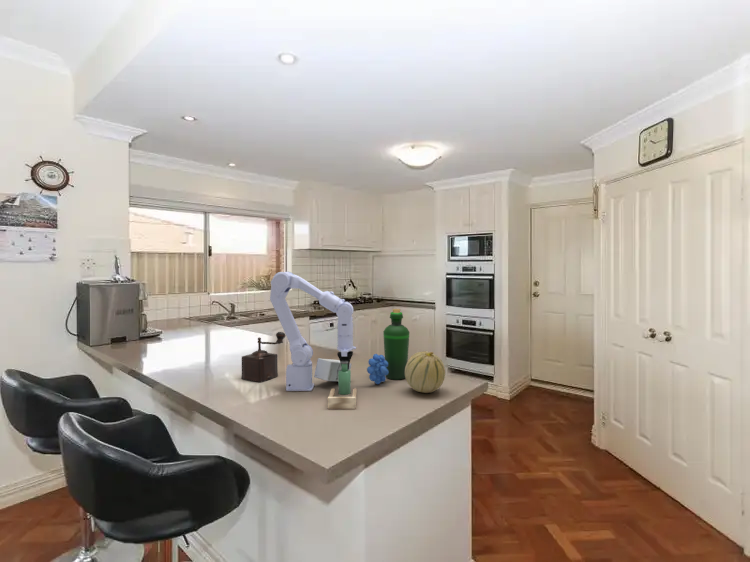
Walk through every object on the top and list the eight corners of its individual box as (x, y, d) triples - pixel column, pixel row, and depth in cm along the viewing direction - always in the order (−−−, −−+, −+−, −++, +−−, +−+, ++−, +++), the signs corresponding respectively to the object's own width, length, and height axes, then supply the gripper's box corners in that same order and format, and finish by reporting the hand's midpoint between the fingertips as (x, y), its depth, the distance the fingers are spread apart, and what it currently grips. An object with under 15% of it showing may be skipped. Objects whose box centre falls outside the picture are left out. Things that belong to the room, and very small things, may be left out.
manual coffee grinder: (261, 383, 158) (261, 337, 157) (240, 379, 163) (240, 334, 162) (287, 373, 171) (287, 331, 171) (268, 370, 177) (267, 329, 176)
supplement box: (348, 382, 160) (327, 381, 150) (334, 377, 164) (313, 377, 154) (352, 363, 160) (331, 362, 151) (338, 359, 165) (317, 357, 155)
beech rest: (327, 408, 130) (327, 398, 129) (331, 395, 143) (331, 385, 143) (355, 408, 130) (355, 397, 130) (356, 395, 143) (356, 385, 143)
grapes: (376, 389, 149) (376, 357, 149) (363, 386, 154) (363, 354, 154) (396, 383, 158) (396, 352, 158) (383, 379, 163) (383, 350, 162)
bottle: (409, 374, 171) (409, 308, 170) (409, 381, 160) (409, 310, 159) (384, 373, 172) (384, 307, 171) (382, 380, 161) (382, 310, 160)
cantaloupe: (410, 384, 157) (411, 345, 156) (448, 388, 152) (449, 348, 151) (399, 395, 143) (399, 353, 143) (440, 400, 138) (440, 356, 137)
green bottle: (337, 394, 144) (337, 363, 143) (338, 391, 148) (338, 360, 148) (350, 394, 144) (350, 362, 143) (350, 391, 148) (350, 360, 148)
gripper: (355, 338, 143) (355, 376, 143) (356, 331, 157) (356, 366, 158) (335, 338, 143) (335, 377, 143) (338, 332, 157) (338, 366, 158)
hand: (345, 371), depth 151 cm, fingers closed
